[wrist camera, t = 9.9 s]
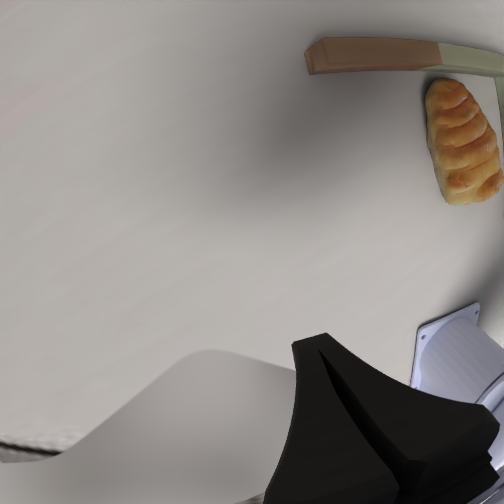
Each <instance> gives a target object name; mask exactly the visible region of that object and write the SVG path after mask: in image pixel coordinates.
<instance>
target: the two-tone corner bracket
mask: <svg viewBox="0 0 504 504" xmlns="http://www.w3.org/2000/svg"><path fill="white" fill-rule="evenodd" d="M304 54H305V58H306V62H307V67H308V71H309V75H312V74H323V73H335V72H351V71H380V70H407V71H434V72H449V73H461V74H471V75H479V76H487V77H494V78H495V83H496V88H497V94H498V101H499V108H500V116H501V124H502V135H503V148H504V55H502V54H498V53H494V52H490V51H485V50H480V49H475V48H470V47H464V46H459V45H452V44H446V43H438V42H430V41H421V40H410V39H397V38H375V37H334V38H322V39H321V40H320V41H319V42H317V43H316V44H315V45H313V46H312V47H311V48H310V49H309V50H307V51H306V52H305V53H304Z"/></svg>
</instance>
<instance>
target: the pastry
mask: <svg viewBox="0 0 504 504" xmlns="http://www.w3.org/2000/svg"><path fill="white" fill-rule="evenodd" d="M425 108H426V112H427V129H428V132H427V145H428V147H429V149H430V151H431V157H432V160H433V164H434V170H435V174H436V178H437V181H438V184H439V187H440V189H441V192H442V195H443V197H444V199H445V201H446V202H447V203H448V204H451V205H466V204H469V203H472V202H482V201H484V200H486V199H488V198H490V197H492V196H493V195H495V194H496V193H498V191H499V189H500V186H501V185H502V183H503V181H504V177H503V172H502V170H501V168H500V159H499V149H498V146H497V138H496V134H495V132H494V130H493V129H492V128H491V126H490V124H489V122H488V120H487V118H486V116H485V115H484V114H483V113H482V111H481V109H480V107H479V105H478V103H477V102H476V101H475V99H474V98H473V96H472V94H471V93H470V92H469V91H468V90H467V89H466V88H465V86H464V85H463V84H462V83H460V82H457V81H455V80H452V79H449V78H441V79H437V80H435V81H434V82H433V83H432V84H431V86H430V88H429V89H428V92H427V94H426V96H425Z"/></svg>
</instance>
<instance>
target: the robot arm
mask: <svg viewBox="0 0 504 504" xmlns="http://www.w3.org/2000/svg"><path fill="white" fill-rule="evenodd" d="M479 312H480V304H479V303H478V302H476V303H474V304H472V305H470V306H468V307H466V308H464V309H461V310H459V311H457V312H455V313H453V314H450V315H448V316H446V317H444V318H441V319H439V320H437V321H434V322H432V323H430V324H427V325H425V326H422V327H421V328H420V329H419V330H418V334H417V343H416V352H415V359H414V366H413V373H412V379H411V386H407V385H405V384H403V383H401V382H399V381H397V380H394V379H393V378H391V377H389V376H387V375H385V374H383V373H382V372H380V371H378V370H377V369H375V368H373V367H372V366H370V365H369V364H367V363H366V362H364V361H363V360H361V359H360V358H358V357H357V356H356V355H354V354H353V353H351V352H350V351H349V350H348V349H346V348H345V347H344V346H342V345H341V344H340V343H339V342H337V341H336V340H335V339H334V338H333V337H332V336H330V335H329V334H328V333H323V334H319V335H316V336H313V337H309V338H305V339H302V340H298V341H295V342H293V344H292V351H293V356H294V362H295V368H296V393H295V394H296V395H295V403H294V409H293V415H292V420H291V425H290V428H289V432H288V436H287V440H286V443H285V446H284V449H283V452H282V455H281V457H280V460H279V463H278V465H277V468H276V470H275V472H274V475H273V476H272V479H271V481H270V483H269V485H268V487H267V489H266V491H265V496H264V501H263V504H480V503H481V502H483V501H484V500H486V499H487V498H488V497H490V496H491V495H493V494H494V495H493V496H491V497H490V498H489V499H488V500H486V501H485V502H484V503H483V504H504V349H503V348H502V347H501V346H500V345H499V344H498V343H496V342H495V341H494V340H493V339H492V338H491V337H490V336H488V335H487V334H486V333H485V332H484V331H483V330H482V329H480V328H479V327H478V326H477V322H478V317H479Z"/></svg>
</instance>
